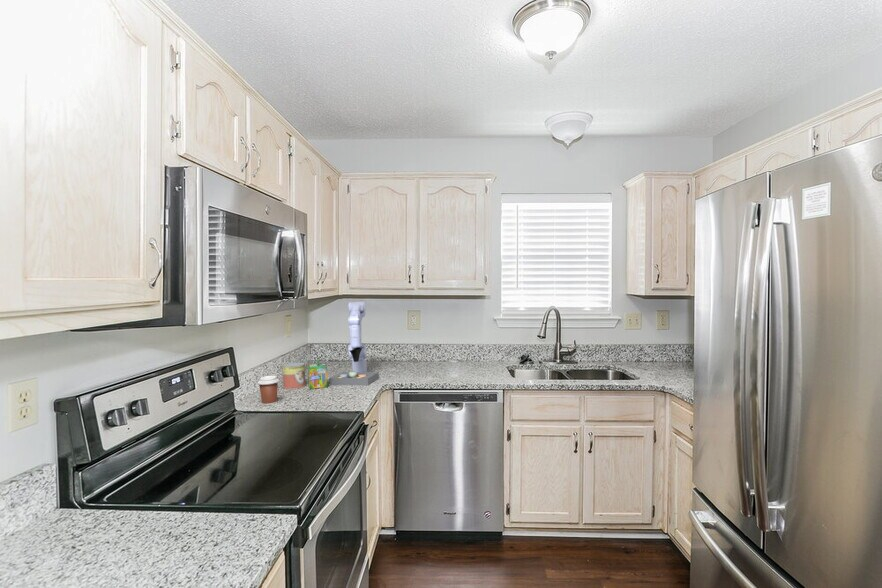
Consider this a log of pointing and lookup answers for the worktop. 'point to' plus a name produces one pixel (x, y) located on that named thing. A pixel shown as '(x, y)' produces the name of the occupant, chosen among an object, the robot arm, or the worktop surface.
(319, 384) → the chalk box
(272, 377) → the coffee cup
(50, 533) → the worktop surface
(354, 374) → the button sage
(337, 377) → the console
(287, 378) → the canned food
